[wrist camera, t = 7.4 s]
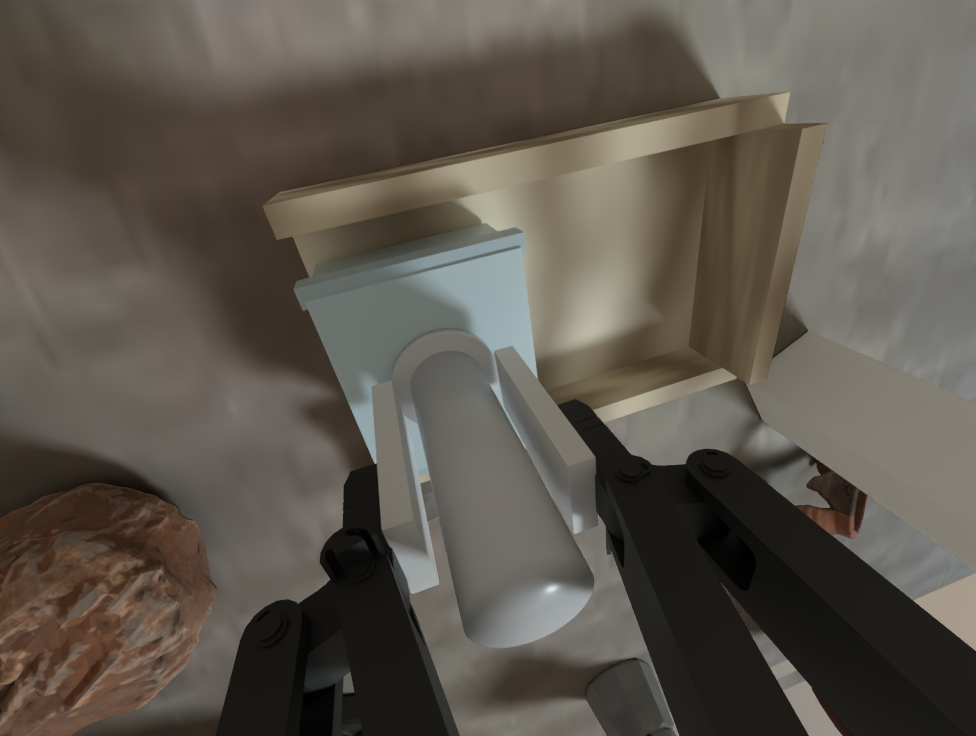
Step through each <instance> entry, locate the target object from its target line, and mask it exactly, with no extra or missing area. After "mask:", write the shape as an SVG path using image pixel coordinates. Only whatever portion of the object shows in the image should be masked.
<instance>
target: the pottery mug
mask: <svg viewBox="0 0 976 736" xmlns="http://www.w3.org/2000/svg"><path fill="white" fill-rule="evenodd" d="M816 463H817V469H818V472H819V473H820V474H821V475H820V476H815V477H813V478H812V479H811V480H810V481H809V482H808V483H807V488H809V489H811V490H814V491H817V492H818V493H819V495H821V496H822V497H823V498H824V499H825V500H826V501H827V503H828V504H829V505H830V508H818V507H814V506H811V505H798V506H796V507H797V508H798V509H799V510H801V511H802V512H803V513H804V514H806V515H807V516H808V517H809V518H811V519H812V520H813V521H814V522H816V523H817V524H818V525H819V526H821V527H822V528H823V529H824V530H826V531H827V532H828V533H829V534H831V535H835V534H839V535H842V536H845V537H848V538H850V539H853V538H854V537H855V536H856V535H857V534H858V533H859V529H860V527H861V524H862V520H863V516H864V510H865V505H866V500H867V494H865V493H864V492H863V491H861V490H860V489H858V488H857V487H855V486H854V485H853V484H851V483H850V482H848V481H847V480H846V479H844V478H843V477H841V476H840V475H838V474H837V473H836V472H834V471H833V470H831V469H830V468H829V467H827V466H826V465H824V464H823V463H821V462H820V461H819V460H817V459H816ZM765 482H766V481H765ZM766 483H767V482H766Z"/></svg>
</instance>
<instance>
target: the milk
mask: <svg viewBox="0 0 976 736" xmlns="http://www.w3.org/2000/svg"><path fill="white" fill-rule="evenodd" d="M746 385H747V387H748V390H749V392H750V394H751V396H752V398H753V401H754V403H755V405H756V407H757V410H758V412H759V414H760V416H761V418H762V420H763V421H764V422H765V423H766V424H768V425H769V426H771V427H772V428H773V429H775V430H776V431H778V432H779V433H780V434H782V435H783V436H785V437H786V438H788V439H789V440H790V441H792V442H793V443H795V444H796V445H797V446H799V447H800V448H802V449H803V450H804V451H806V452H807V453H809V454H810V455H812V456H813V457H814V458H816V459H817V460H819V461H820V462H821V463H823V464H824V465H826V466H827V467H829V468H830V469H831V470H833V471H834V472H836V473H837V474H838V475H840V476H841V477H843V478H844V479H846V480H847V481H848V482H850V483H851V484H853V485H854V486H855V487H857V488H858V489H860V490H861V491H863V492H864V493H865V494H867V495H868V496H870V497H871V498H872V499H874V500H875V501H877V502H878V503H880V504H881V505H882V506H884V507H885V508H887V509H888V510H889V511H891V512H892V513H894V514H895V515H897V516H898V517H899V518H901V519H902V520H904V521H905V522H906V523H908V524H909V525H911V526H912V527H914V528H915V529H916V530H918V531H919V532H921V533H922V534H923V535H925V536H926V537H928V538H929V539H931V540H932V541H933V542H935V543H936V544H938V545H939V546H940V547H942V548H943V549H945V550H946V551H948V552H949V553H950V554H952V555H953V556H955V557H956V558H957V559H959V560H960V561H962V562H963V563H965V564H966V565H967V566H969V567H970V568H972V569H973V570H974V571H976V403H974V402H971V401H969V400H967V399H965V398H962V397H960V396H958V395H955V394H953V393H951V392H948V391H946V390H944V389H942V388H939V387H937V386H935V385H932V384H930V383H928V382H926V381H923V380H921V379H919V378H916V377H914V376H912V375H910V374H907V373H905V372H903V371H900V370H898V369H896V368H893V367H891V366H889V365H887V364H884V363H882V362H880V361H877V360H875V359H873V358H871V357H868V356H866V355H864V354H861V353H859V352H857V351H855V350H852V349H850V348H848V347H845V346H843V345H841V344H838V343H836V342H834V341H832V340H829V339H827V338H825V337H822V336H820V335H818V334H816V333H813V332H811V331H808V332H806V333H805V334H804V335H802V336H801V337H800V338H799V339H797V340H796V341H795V342H793V343H792V344H791V345H789V346H788V347H787V348H786V349H784V350H783V351H782V352H780V353H779V354H778V355H776V356H775V357H774V358H773V359H772V361H771V365H770V370H769V374H768V378H767V379H765V380H762V381H759V382H756V383H753V384H750V385H749V384H747V383H746Z"/></svg>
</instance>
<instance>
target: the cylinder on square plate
mask: <svg viewBox="0 0 976 736" xmlns="http://www.w3.org/2000/svg"><path fill="white" fill-rule="evenodd" d="M522 254H526V244H525V236H524V232H523V231H521V230H519V229H518V228H516V227H514V228H510V229H506V230H502V231H497V230H495V229H494V228H492V227H491V226H490V225H488V224H487V223H484V224H479V225H475V226H471V227H467V228H463V229H459V230H455V231H450V232H446V233H442V234H438V235H434V236H430V237H425V238H421V239H417V240H413V241H409V242H405V243H401V244H396V245H392V246H388V247H384V248H380V249H376V250H372V251H367V252H363V253H359V254H355V255H351V256H347V257H343V258H338V259H334V260H330V261H326V262H322V263H318V264H316V265H315V268H314V272H313V275H312V277H310V278H306V279H302V280H298V281H296V284H295V287H294V289H293V290H294V292H295V294H296V297H297V299H298V301H299V303H300V306H301V308H302V310H303V311H304V310H308V311H309V313H310V315H311V318H312V320H313V322H314V325H315V327H316V329H317V332H318V334H319V336H320V339H321V341H322V343H323V345H324V348H325V350H326V352H327V355H328V357H329V359H330V362H331V364H332V366H333V369H334V371H335V373H336V376H337V378H338V380H339V382H340V385H341V387H342V389H343V392H344V394H345V396H346V399H347V401H348V403H349V406H350V408H351V410H352V412H353V415H354V417H355V419H356V422H357V424H358V426H359V429H360V431H361V433H362V436H363V438H364V440H365V442H366V445H367V447H368V449H369V452H370V454H371V456H372V459H373V461H374V463H375V464H376V463H377V458H376V445H375V431H374V417H373V403H372V389H371V386H374V385H378V384H381V383H385V382H388V381H392V383H393V386H394V389H395V392H396V394H397V397H398V400H399V403H400V406H401V409H402V411H403V414H404V417H405V420H406V423H407V426H408V429H409V431H410V434H411V438H412V444H413V449H414V454H415V459H416V465H417V470H418V475H419V477H420V476H423V475H426V474H429V476H430V480H431V485H432V489H433V494H434V498H435V503H436V507H437V512H438V516H439V521H440V525H441V530H442V534H443V539H444V543H445V548H446V552H447V557H448V561H449V566H450V570H451V575H452V579H453V584H454V588H455V593H456V597H457V602H458V606H459V611H460V615H461V620H462V624H463V628H464V632H465V634H466V636H467V637H468V638H469V639H470V640H471V641H472V642H474V643H476V644H478V645H480V646H484V647H489V648H508V647H515V646H519V645H523V644H527V643H530V642H533V641H535V640H538V639H540V638H543V637H545V636H547V635H549V634H551V633H553V632H554V631H556V630H558V629H559V628H561V627H562V626H564V625H565V624H567V623H568V622H569V621H570V620H571V619H573V618H574V617H575V616H576V615H577V614H578V613H579V612H580V611H581V610H582V609H583V607H584V606H585V605H586V603H587V602H588V600H589V598H590V596H591V594H592V592H593V588H594V577H593V574H592V572H591V570H590V568H589V566H588V564H587V562H586V561H585V559H584V557H583V555H582V553H581V551H580V549H579V548H578V546H577V544H576V542H575V540H574V538H573V537H572V535H571V533H570V531H569V529H568V527H567V526H566V524H565V522H564V520H563V518H562V516H561V514H560V513H559V511H558V509H557V507H556V505H555V503H554V502H553V500H552V498H551V496H550V494H549V492H548V490H547V489H546V487H545V485H544V483H543V481H542V479H541V478H540V476H539V474H538V472H537V470H536V468H535V467H534V465H533V463H532V461H531V459H530V457H529V455H528V454H527V452H526V450H525V448H524V446H523V444H522V443H523V441H522V439H521V437H520V435H519V433H518V431H517V430H516V428H515V426H514V424H513V422H512V421H511V419H510V417H509V415H508V413H507V411H506V410H505V408H504V405H503V399H502V394H501V388H500V383H499V377H498V372H497V366H496V361H495V355H494V351H495V350H498V349H502V348H505V347H509V346H513V347H514V348H515V350H516V351H517V353H518V354H519V355H520V357H521V358H522V359H523V361H524V362H525V363H526V365H527V366H528V367H529V369H530V370H531V371H532V373H533V374H534V375H535V377H536V378H537V379H538V377H537V369H536V361H535V353H534V344H533V336H532V328H531V320H530V312H529V304H528V296H527V287H526V279H525V271H524V263H523V255H522Z"/></svg>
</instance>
